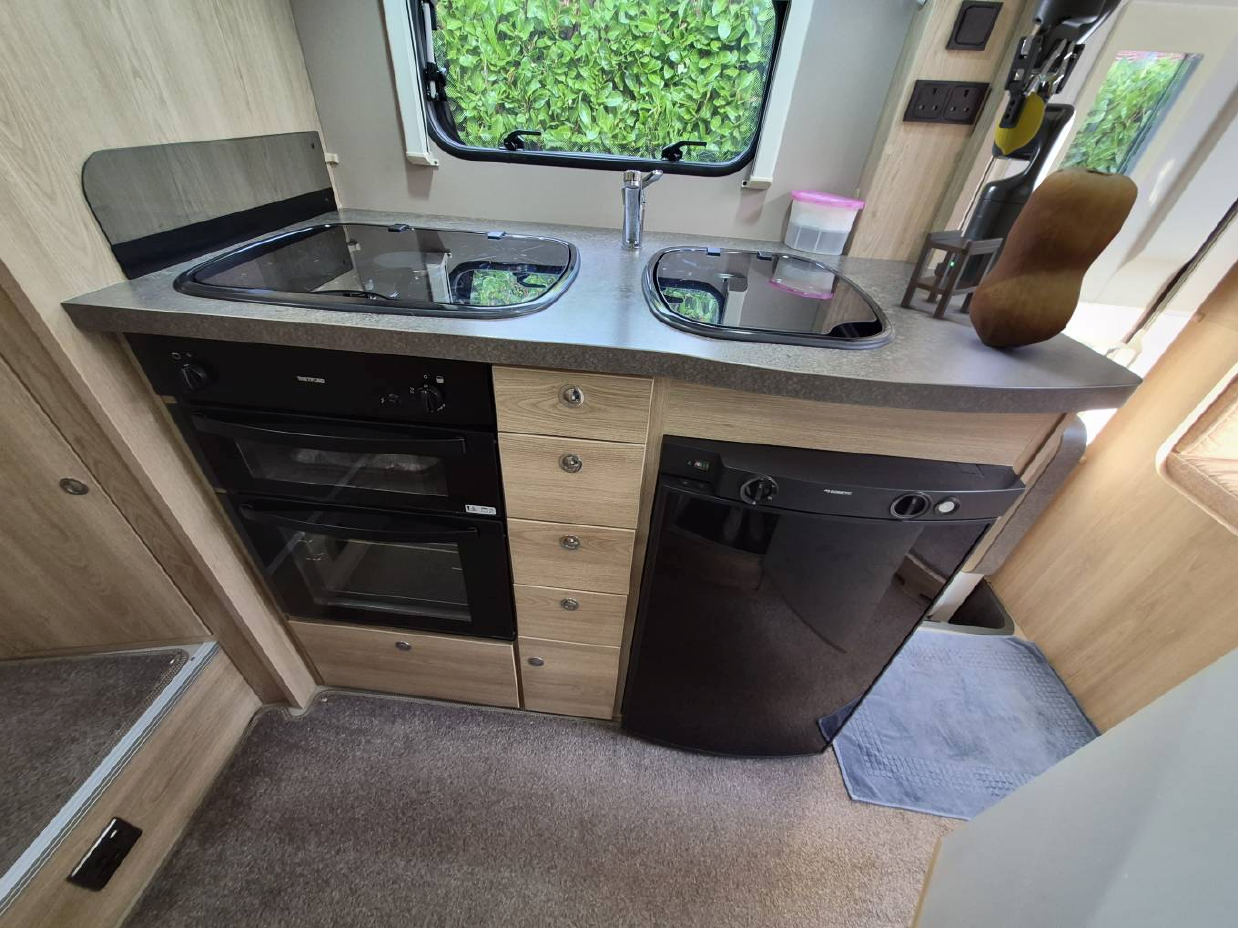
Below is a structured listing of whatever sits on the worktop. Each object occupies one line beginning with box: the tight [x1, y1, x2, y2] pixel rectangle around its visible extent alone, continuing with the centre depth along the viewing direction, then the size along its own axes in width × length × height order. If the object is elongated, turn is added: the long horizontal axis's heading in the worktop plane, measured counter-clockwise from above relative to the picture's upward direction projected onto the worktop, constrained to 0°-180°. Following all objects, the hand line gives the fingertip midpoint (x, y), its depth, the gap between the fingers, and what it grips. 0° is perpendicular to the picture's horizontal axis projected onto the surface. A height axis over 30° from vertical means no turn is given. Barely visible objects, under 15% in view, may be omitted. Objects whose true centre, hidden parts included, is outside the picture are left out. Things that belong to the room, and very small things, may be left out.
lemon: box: [994, 91, 1045, 155], centre depth 75 cm, size 6×6×8 cm
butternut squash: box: [968, 166, 1139, 349], centre depth 73 cm, size 14×13×25 cm
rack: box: [899, 229, 1003, 320], centre depth 91 cm, size 8×10×13 cm
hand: (1017, 128), depth 75 cm, fingers closed on lemon, 5 cm apart
